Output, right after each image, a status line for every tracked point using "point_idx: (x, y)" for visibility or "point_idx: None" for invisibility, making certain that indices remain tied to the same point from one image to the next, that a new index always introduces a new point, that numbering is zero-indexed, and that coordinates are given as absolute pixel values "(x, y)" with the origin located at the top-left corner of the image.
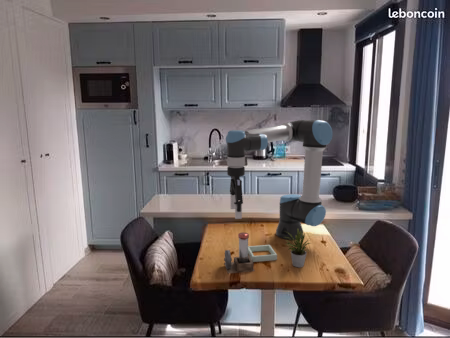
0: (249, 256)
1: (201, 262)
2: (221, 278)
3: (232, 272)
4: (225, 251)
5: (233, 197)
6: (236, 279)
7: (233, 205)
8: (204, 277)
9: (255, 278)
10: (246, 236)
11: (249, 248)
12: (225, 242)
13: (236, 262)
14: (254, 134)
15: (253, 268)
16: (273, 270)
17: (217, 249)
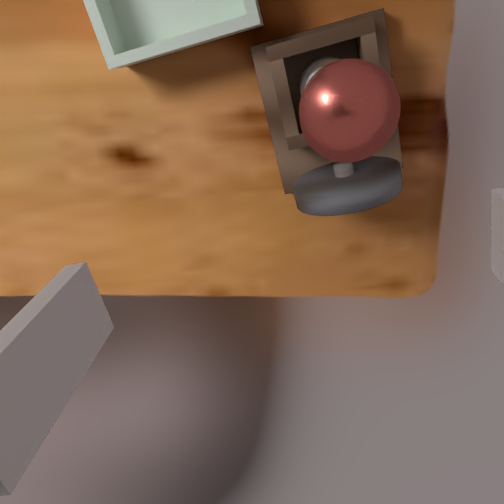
0: (273, 47)
1: (256, 291)
2: (413, 191)
3: (394, 143)
4: (327, 213)
5: (10, 421)
6: (430, 116)
7: (80, 326)
8: (398, 265)
9: (428, 4)
10: (394, 82)
11: (136, 51)
12: (7, 200)
13: None
14: None
15: (367, 17)
16: None
17: (104, 234)
